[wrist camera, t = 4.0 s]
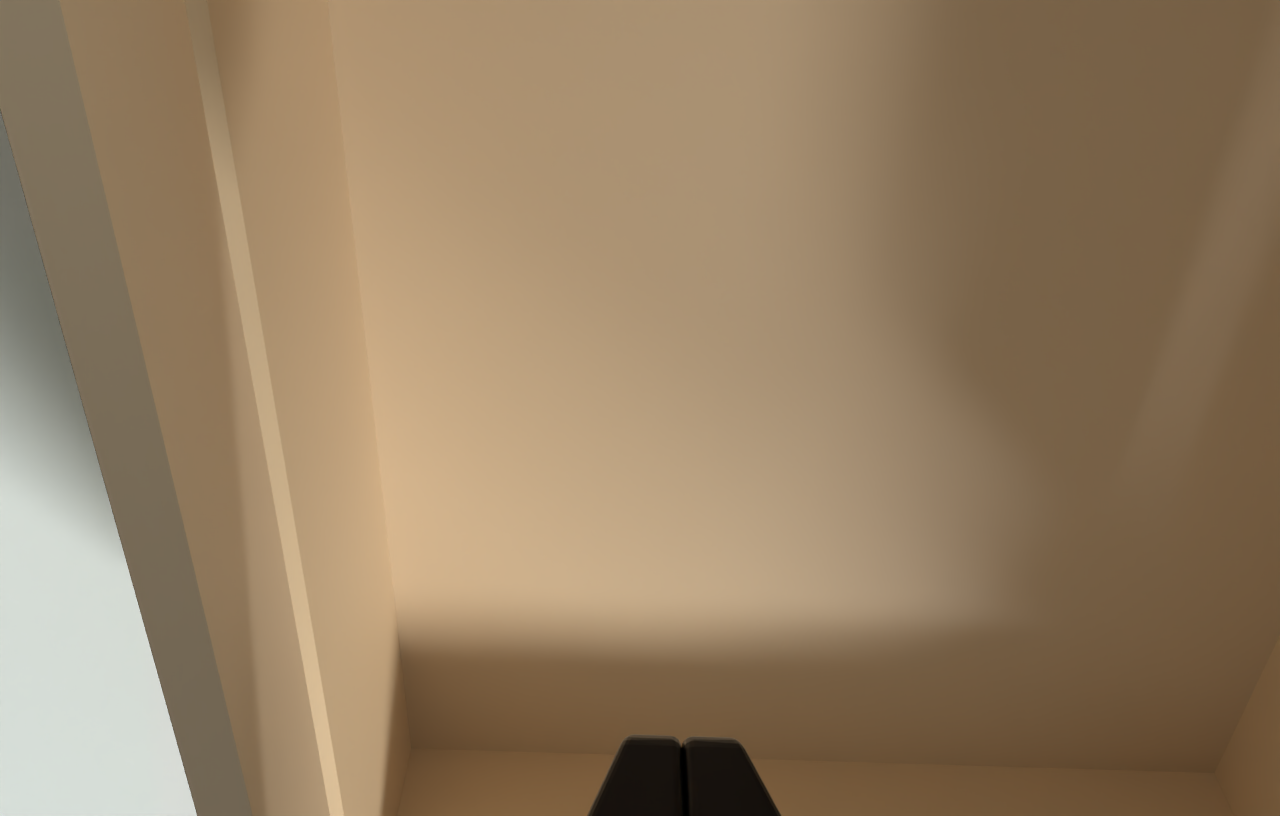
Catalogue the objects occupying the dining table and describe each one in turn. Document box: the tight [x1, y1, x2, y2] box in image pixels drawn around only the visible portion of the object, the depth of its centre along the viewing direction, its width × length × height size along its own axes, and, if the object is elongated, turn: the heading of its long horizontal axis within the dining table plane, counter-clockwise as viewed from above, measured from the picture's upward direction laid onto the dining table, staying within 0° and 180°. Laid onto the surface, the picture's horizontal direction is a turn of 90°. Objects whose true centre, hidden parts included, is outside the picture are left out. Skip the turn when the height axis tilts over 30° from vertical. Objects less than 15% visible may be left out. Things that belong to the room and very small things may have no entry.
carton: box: [184, 0, 1280, 816], centre depth 13 cm, size 14×26×4 cm, turn 178°
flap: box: [0, 0, 330, 816], centre depth 10 cm, size 1×17×4 cm, turn 177°
